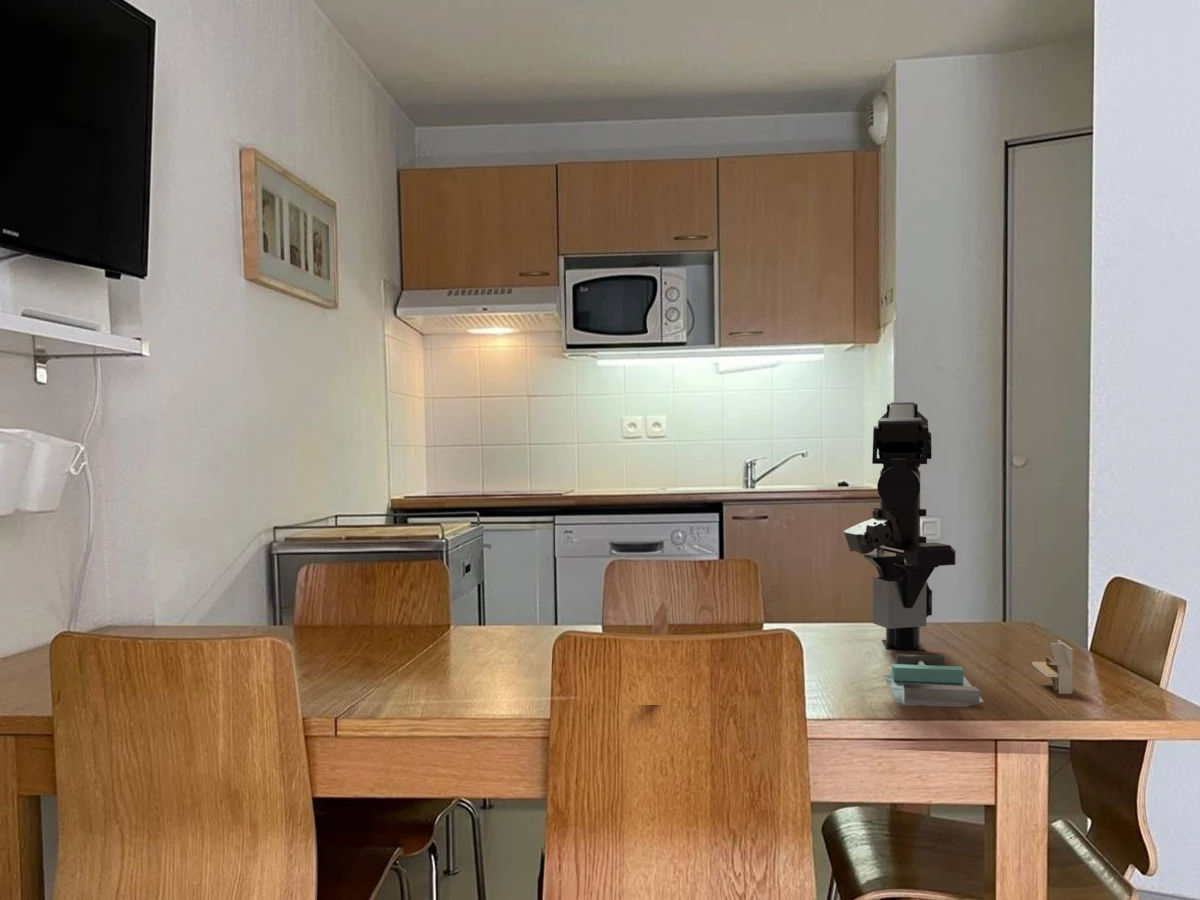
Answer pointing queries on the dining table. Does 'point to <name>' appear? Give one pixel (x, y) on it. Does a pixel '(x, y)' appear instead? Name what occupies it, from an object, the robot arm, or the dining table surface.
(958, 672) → the free jaw
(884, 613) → the steel block
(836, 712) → the dining table surface
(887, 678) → the vise base
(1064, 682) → the architectural model
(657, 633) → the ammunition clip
